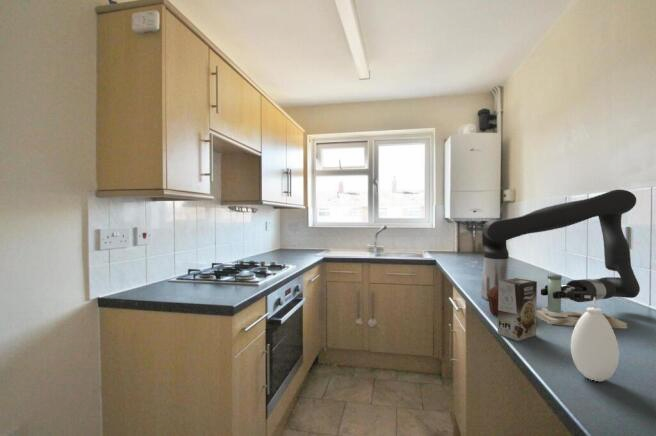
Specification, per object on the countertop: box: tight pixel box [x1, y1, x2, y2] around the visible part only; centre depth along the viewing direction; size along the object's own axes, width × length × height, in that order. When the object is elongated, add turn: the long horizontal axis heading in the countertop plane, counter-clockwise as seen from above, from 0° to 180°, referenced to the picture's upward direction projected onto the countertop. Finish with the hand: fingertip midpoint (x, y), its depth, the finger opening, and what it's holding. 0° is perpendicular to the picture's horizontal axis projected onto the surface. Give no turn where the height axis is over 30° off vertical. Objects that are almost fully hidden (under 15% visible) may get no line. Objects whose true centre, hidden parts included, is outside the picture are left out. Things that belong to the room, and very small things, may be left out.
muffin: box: [487, 285, 499, 317], centre depth 109 cm, size 12×11×10 cm
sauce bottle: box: [570, 297, 620, 382], centre depth 66 cm, size 8×8×18 cm
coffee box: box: [497, 277, 538, 342], centre depth 90 cm, size 9×6×16 cm
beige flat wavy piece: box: [536, 309, 628, 329], centre depth 102 cm, size 22×10×2 cm, turn 81°
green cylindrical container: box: [541, 273, 567, 317], centre depth 103 cm, size 5×6×13 cm
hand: (548, 293), depth 102 cm, fingers closed on green cylindrical container, 3 cm apart
